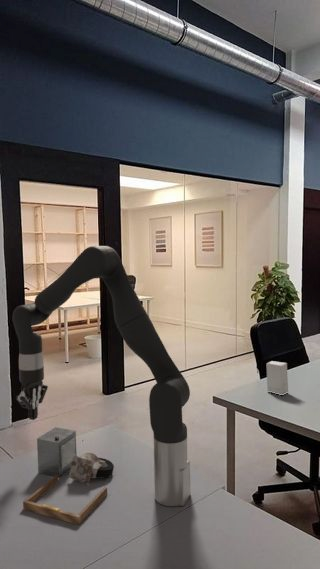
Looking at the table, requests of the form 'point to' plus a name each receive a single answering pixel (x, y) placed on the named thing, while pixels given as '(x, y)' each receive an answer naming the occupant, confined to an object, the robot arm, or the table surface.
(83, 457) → the caster wheel
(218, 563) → the table surface
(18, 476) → the table surface
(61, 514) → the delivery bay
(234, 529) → the table surface
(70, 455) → the control box
